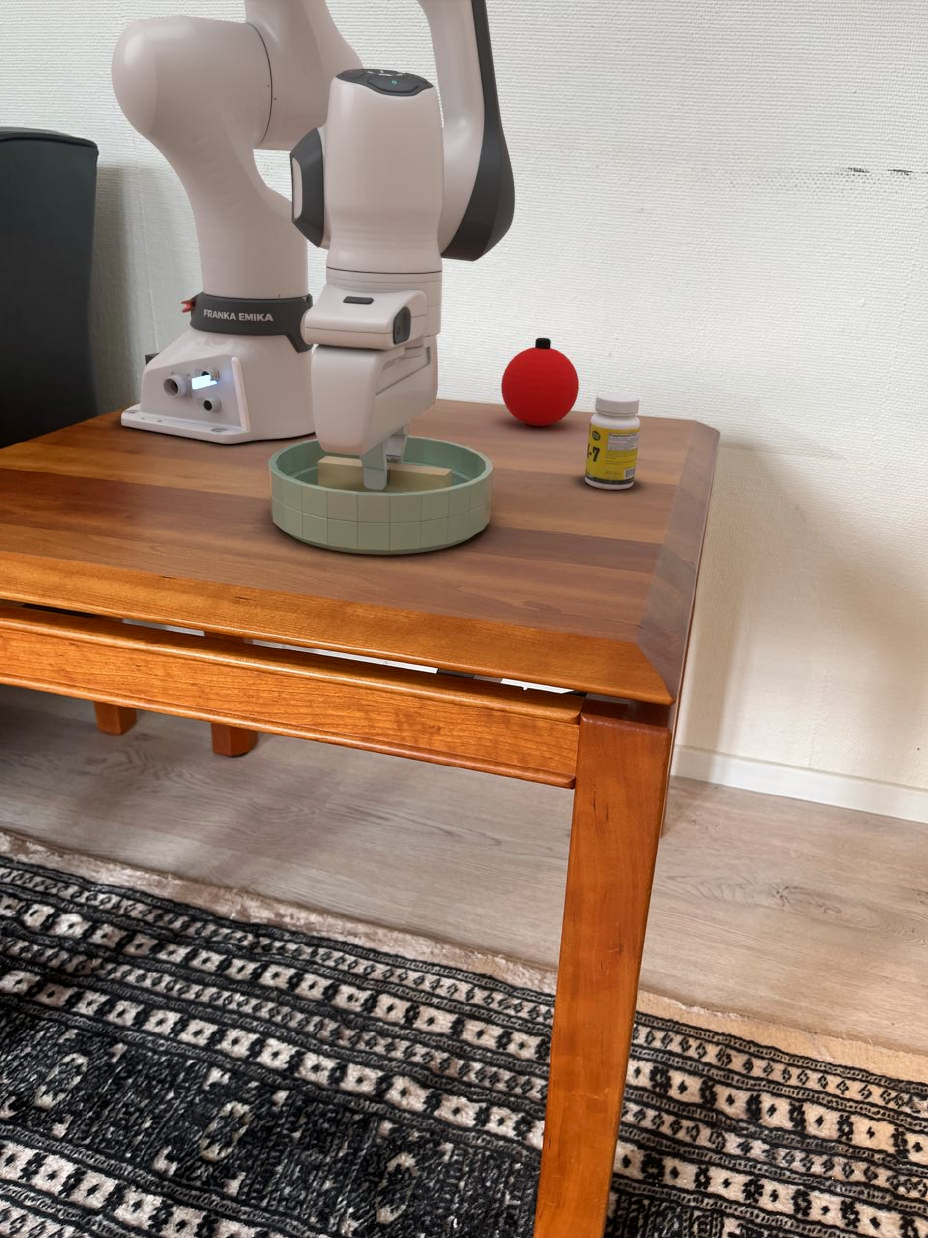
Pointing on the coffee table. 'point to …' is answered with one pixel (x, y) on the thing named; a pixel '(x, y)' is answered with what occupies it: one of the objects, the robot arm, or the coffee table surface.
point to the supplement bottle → (613, 441)
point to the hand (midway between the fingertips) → (383, 481)
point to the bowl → (382, 501)
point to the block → (402, 476)
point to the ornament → (540, 385)
